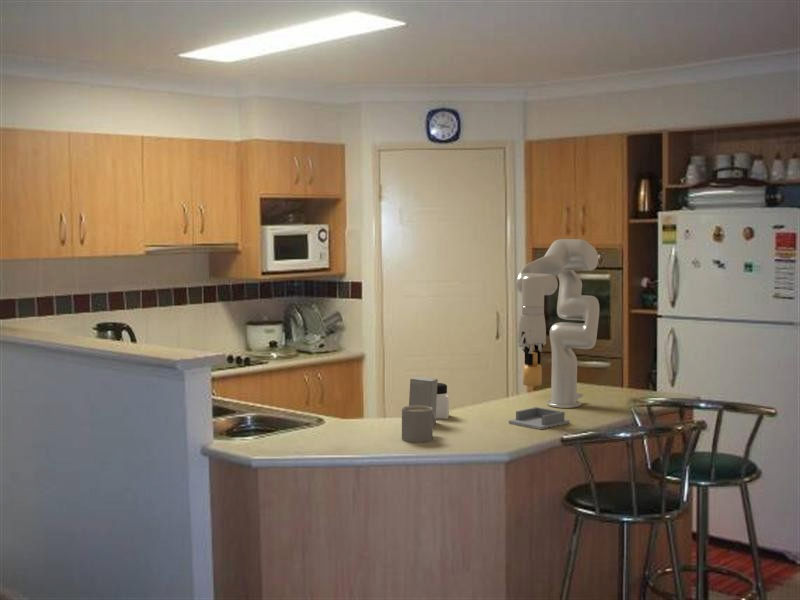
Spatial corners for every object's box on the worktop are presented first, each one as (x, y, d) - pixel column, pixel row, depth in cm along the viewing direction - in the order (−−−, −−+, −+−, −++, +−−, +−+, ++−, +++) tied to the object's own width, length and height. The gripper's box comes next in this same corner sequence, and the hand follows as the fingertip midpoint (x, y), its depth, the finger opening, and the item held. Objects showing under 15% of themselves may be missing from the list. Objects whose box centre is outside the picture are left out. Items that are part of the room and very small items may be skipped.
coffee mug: (415, 443, 316) (415, 412, 315) (395, 438, 324) (395, 407, 323) (446, 438, 324) (447, 407, 323) (427, 432, 332) (427, 403, 331)
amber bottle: (531, 382, 351) (531, 351, 350) (545, 384, 346) (545, 353, 345) (519, 384, 346) (519, 352, 345) (533, 386, 342) (533, 354, 341)
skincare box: (407, 424, 345) (407, 378, 344) (415, 420, 352) (415, 375, 351) (430, 426, 342) (430, 380, 341) (437, 422, 349) (438, 377, 348)
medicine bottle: (448, 415, 362) (449, 382, 361) (447, 419, 354) (448, 385, 353) (429, 414, 362) (429, 381, 361) (427, 418, 355) (427, 385, 354)
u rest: (537, 417, 358) (537, 406, 358) (569, 423, 348) (569, 411, 347) (508, 423, 347) (508, 412, 346) (540, 429, 337) (540, 418, 336)
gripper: (539, 308, 352) (539, 360, 354) (508, 312, 341) (508, 365, 343) (556, 310, 347) (556, 362, 348) (525, 313, 336) (525, 368, 337)
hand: (532, 363), depth 346 cm, fingers closed on amber bottle, 3 cm apart
